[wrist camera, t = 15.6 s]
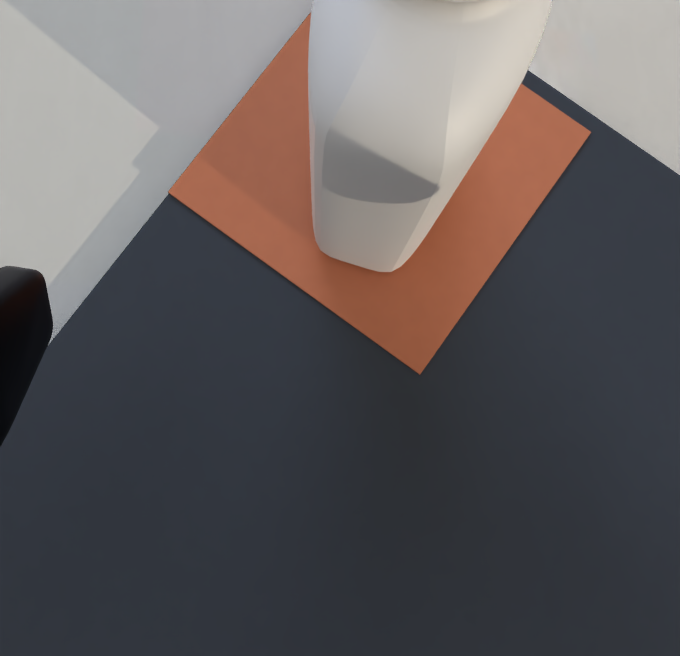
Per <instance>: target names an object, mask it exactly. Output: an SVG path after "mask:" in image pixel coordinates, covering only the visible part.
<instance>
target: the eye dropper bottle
mask: <svg viewBox="0 0 680 656" xmlns="http://www.w3.org/2000/svg"><path fill="white" fill-rule="evenodd" d="M552 1H553V0H313V4H312V11H311V20H310V32H309V51H308V103H309V137H310V171H311V199H312V219H313V229H314V235H315V241H316V243H317V244H318V246H319V248H320V250H321V251H322V252H324V253H325V254H327V255H328V256H329V257H332V258H335V259H338V260H340V261H343V262H347V263H350V264H353V265H357V266H360V267H363V268H366V269H370V270H374V271H378V272H392V271H394V270H396V269H397V268H399V267H401V266H402V265H403V264H404V263H405V262H406V261H407V260H408V259H409V258H410V257H411V255H412V254H413V253H414V252H415V250H416V249H417V248H418V246H419V245H420V244H421V242H422V241H423V239H424V238H425V237H426V235H427V234H428V232H429V231H430V229H431V227H432V226H433V224H434V223H435V221H436V220H437V218H438V217H439V215H440V214H441V212H442V210H443V209H444V207H445V206H446V204H447V203H448V201H449V200H450V198H451V196H452V195H453V193H454V192H455V190H456V189H457V187H458V186H459V184H460V182H461V181H462V179H463V178H464V176H465V175H466V173H467V171H468V170H469V168H470V167H471V165H472V164H473V162H474V161H475V159H476V157H477V156H478V154H479V153H480V151H481V150H482V148H483V146H484V145H485V143H486V142H487V140H488V138H489V137H490V135H491V134H492V132H493V130H494V129H495V127H496V126H497V124H498V122H499V121H500V119H501V118H502V116H503V114H504V113H505V111H506V110H507V108H508V106H509V104H510V102H511V101H512V99H513V97H514V95H515V93H516V92H517V90H518V88H519V86H520V84H521V83H522V81H523V79H524V77H525V75H526V73H527V71H528V68H529V66H530V64H531V62H532V60H533V58H534V55H535V53H536V50H537V48H538V45H539V43H540V40H541V38H542V35H543V32H544V29H545V26H546V23H547V20H548V17H549V14H550V10H551V5H552Z"/></svg>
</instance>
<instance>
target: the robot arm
mask: <svg viewBox="0 0 680 656" xmlns="http://www.w3.org/2000/svg"><path fill="white" fill-rule="evenodd" d="M52 330H53V320H52V314H51V309H50V304H49V298H48V293H47V288H46V282H45V279H44V277H43V275H42V274H41V273H40V272H39V271H37V270H33V269H27V268H21V267H14V266H5V267H2V268H0V447H1V445H2V443H3V442H4V440H5V438H6V436H7V434H8V432H9V430H10V428H11V426H12V424H13V422H14V420H15V418H16V415H17V413H18V411H19V409H20V406H21V404H22V402H23V400H24V397H25V395H26V393H27V391H28V388H29V386H30V384H31V382H32V379H33V377H34V375H35V373H36V370H37V368H38V366H39V364H40V361H41V359H42V357H43V355H44V352H45V350H46V348H47V346H48V343H49V341H50V338H51V335H52Z"/></svg>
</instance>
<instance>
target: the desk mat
mask: <svg viewBox="0 0 680 656" xmlns="http://www.w3.org/2000/svg"><path fill="white" fill-rule="evenodd" d="M310 20H311V13H310V14H309V15H308V16H307V18H306V19H305V20H304V21H303V23H302V24H301V25H300V26H299V28H298V29H297V30H296V31H295V33H294V34H293V35H292V36H291V38H290V39H289V40H288V41H287V43H286V44H285V45H284V47H283V48H282V49H281V50H280V52H279V53H278V54H277V55H276V57H275V58H274V59H273V60H272V62H271V63H270V64H269V65H268V67H267V68H266V69H265V70H264V72H263V73H262V74H261V75H260V77H259V78H258V79H257V81H256V82H255V83H254V84H253V86H252V87H251V88H250V89H249V91H248V92H247V93H246V94H245V96H244V97H243V98H242V99H241V101H240V102H239V103H238V104H237V106H236V107H235V108H234V109H233V111H232V112H231V113H230V115H229V116H228V117H227V118H226V120H225V121H224V122H223V123H222V125H221V126H220V127H219V128H218V130H217V131H216V132H215V133H214V135H213V136H212V137H211V138H210V140H209V141H208V142H207V143H206V145H205V146H204V147H203V148H202V150H201V151H200V152H199V154H198V155H197V156H196V157H195V159H194V160H193V161H192V162H191V164H190V165H189V166H188V167H187V169H186V170H185V171H184V172H183V174H182V175H181V176H180V177H179V179H178V180H177V181H176V182H175V184H174V185H173V186H172V188H171V189H170V190H169V191H168V193H169V194H168V196H167V197H166V198H165V199H164V201H163V202H162V203H161V204H160V206H159V207H158V208H157V209H156V211H155V212H154V213H153V214H152V216H151V217H150V218H149V220H148V221H147V222H146V223H145V225H144V226H143V227H142V228H141V230H140V231H139V232H138V233H137V235H136V236H135V237H134V238H133V240H132V241H131V242H130V243H129V245H128V246H127V247H126V249H125V250H124V251H123V252H122V254H121V255H120V256H119V257H118V259H117V260H116V261H115V262H114V264H113V265H112V266H111V267H110V269H109V270H108V271H107V272H106V274H105V275H104V276H103V277H102V279H101V280H100V281H99V283H98V284H97V285H96V286H95V288H94V289H93V290H92V291H91V293H90V294H89V295H88V296H87V298H86V299H85V300H84V301H83V303H82V304H81V305H80V306H79V308H78V309H77V310H76V311H75V313H74V314H73V315H72V317H71V318H70V319H69V320H68V322H67V323H66V324H65V325H64V327H63V328H62V329H61V330H60V332H59V333H58V334H57V335H56V337H55V338H54V339H53V340H52V342H51V343H50V344H49V345H48V347H47V348H46V350H45V352H44V355H43V357H42V359H41V361H40V364H39V366H38V368H37V370H36V373H35V375H34V377H33V379H32V382H31V384H30V386H29V388H28V391H27V393H26V395H25V397H24V400H23V402H22V404H21V406H20V409H19V411H18V413H17V415H16V418H15V420H14V422H13V424H12V426H11V428H10V430H9V432H8V434H7V436H6V438H5V440H4V442H3V443H2V445H1V447H0V656H680V175H678V174H677V173H676V172H674V171H673V170H671V169H670V168H668V167H667V166H665V165H664V164H663V163H661V162H660V161H658V160H657V159H655V158H654V157H652V156H651V155H650V154H648V153H647V152H645V151H644V150H642V149H641V148H639V147H638V146H637V145H635V144H634V143H632V142H631V141H629V140H628V139H626V138H625V137H624V136H622V135H621V134H619V133H618V132H616V131H615V130H613V129H612V128H611V127H609V126H608V125H606V124H605V123H603V122H602V121H600V120H599V119H598V118H596V117H595V116H593V115H592V114H590V113H589V112H587V111H586V110H585V109H583V108H582V107H580V106H579V105H577V104H576V103H575V102H573V101H572V100H570V99H569V98H567V97H566V96H564V95H563V94H562V93H560V92H559V91H557V90H556V89H554V88H553V87H551V86H550V85H549V84H547V83H546V82H544V81H543V80H541V79H540V78H538V77H537V76H536V75H534V74H533V73H531V72H530V71H527V73H526V75H525V77H524V79H523V81H522V83H521V84H520V86H519V88H518V90H517V92H516V93H515V95H514V97H513V99H512V101H511V102H510V104H509V106H508V108H507V110H506V111H505V113H504V114H503V116H502V118H501V119H500V121H499V122H498V124H497V126H496V127H495V129H494V130H493V132H492V134H491V135H490V137H489V138H488V140H487V142H486V143H485V145H484V146H483V148H482V150H481V151H480V153H479V154H478V156H477V157H476V159H475V161H474V162H473V164H472V165H471V167H470V168H469V170H468V171H467V173H466V175H465V176H464V178H463V179H462V181H461V182H460V184H459V186H458V187H457V189H456V190H455V192H454V193H453V195H452V196H451V198H450V200H449V201H448V203H447V204H446V206H445V207H444V209H443V210H442V212H441V214H440V215H439V217H438V218H437V220H436V221H435V223H434V224H433V226H432V227H431V229H430V231H429V232H428V234H427V235H426V237H425V238H424V239H423V241H422V242H421V244H420V245H419V246H418V248H417V249H416V250H415V252H414V253H413V254H412V255H411V257H410V258H409V259H408V260H407V261H406V262H405V263H404V264H403V265H402V266H401V267H399V268H397V269H396V270H394V271H392V272H378V271H374V270H370V269H366V268H363V267H360V266H357V265H353V264H350V263H347V262H343V261H340V260H338V259H335V258H332V257H329V256H328V255H327V254H325V253H324V252H322V251H321V250H320V248H319V246H318V244H317V243H316V241H315V235H314V229H313V219H312V199H311V171H310V137H309V103H308V51H309V32H310Z"/></svg>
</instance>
